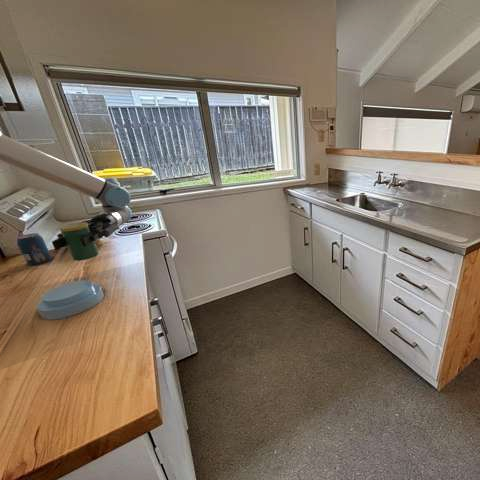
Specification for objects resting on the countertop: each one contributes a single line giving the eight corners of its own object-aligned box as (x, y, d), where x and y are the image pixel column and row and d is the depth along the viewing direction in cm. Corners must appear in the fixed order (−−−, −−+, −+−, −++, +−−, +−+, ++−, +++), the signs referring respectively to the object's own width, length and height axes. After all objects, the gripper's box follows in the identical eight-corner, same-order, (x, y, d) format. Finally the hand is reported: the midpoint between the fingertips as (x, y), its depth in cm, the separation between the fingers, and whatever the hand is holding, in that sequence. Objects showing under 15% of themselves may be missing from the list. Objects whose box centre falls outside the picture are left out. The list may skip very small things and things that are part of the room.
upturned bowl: (34, 326, 67) (26, 311, 65) (47, 301, 78) (40, 287, 76) (102, 306, 74) (96, 292, 73) (105, 286, 85) (100, 273, 83)
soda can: (42, 259, 107) (29, 232, 103) (57, 259, 107) (45, 232, 102) (23, 267, 101) (9, 239, 97) (40, 267, 100) (26, 238, 96)
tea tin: (71, 262, 81) (56, 230, 77) (74, 255, 86) (61, 224, 82) (98, 257, 85) (85, 225, 81) (100, 250, 90) (88, 220, 86)
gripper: (137, 228, 103) (110, 250, 82) (80, 234, 99) (35, 259, 78) (131, 210, 100) (101, 228, 80) (72, 215, 96) (24, 236, 75)
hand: (69, 244), depth 79 cm, fingers closed on tea tin, 7 cm apart
